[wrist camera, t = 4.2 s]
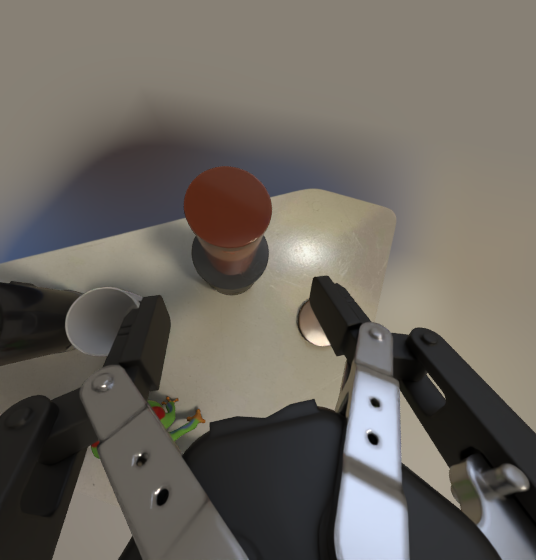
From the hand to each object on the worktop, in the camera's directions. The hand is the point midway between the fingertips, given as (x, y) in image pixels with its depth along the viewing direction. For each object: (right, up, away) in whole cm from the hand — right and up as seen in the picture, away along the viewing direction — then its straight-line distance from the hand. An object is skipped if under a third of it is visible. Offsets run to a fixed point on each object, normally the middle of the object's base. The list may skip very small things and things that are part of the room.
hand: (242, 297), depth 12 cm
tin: (-5, +3, +27) cm, 28 cm away
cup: (-20, -5, +24) cm, 31 cm away
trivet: (+11, -7, +28) cm, 31 cm away
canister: (-3, +4, +15) cm, 16 cm away
